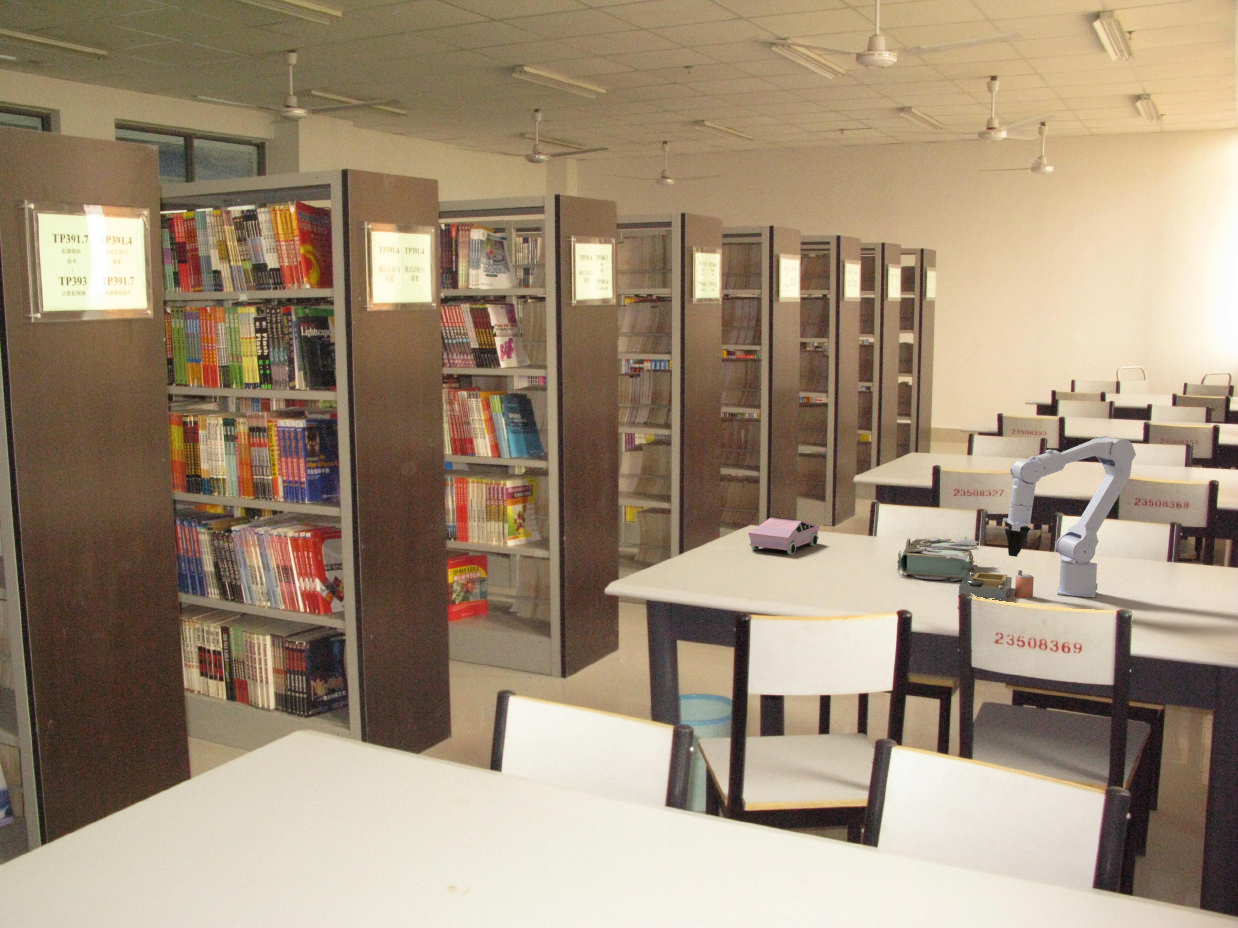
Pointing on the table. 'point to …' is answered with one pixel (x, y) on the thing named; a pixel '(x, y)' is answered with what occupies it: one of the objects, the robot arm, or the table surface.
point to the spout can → (1024, 585)
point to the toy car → (783, 534)
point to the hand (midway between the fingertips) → (1014, 554)
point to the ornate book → (938, 558)
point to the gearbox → (986, 585)
